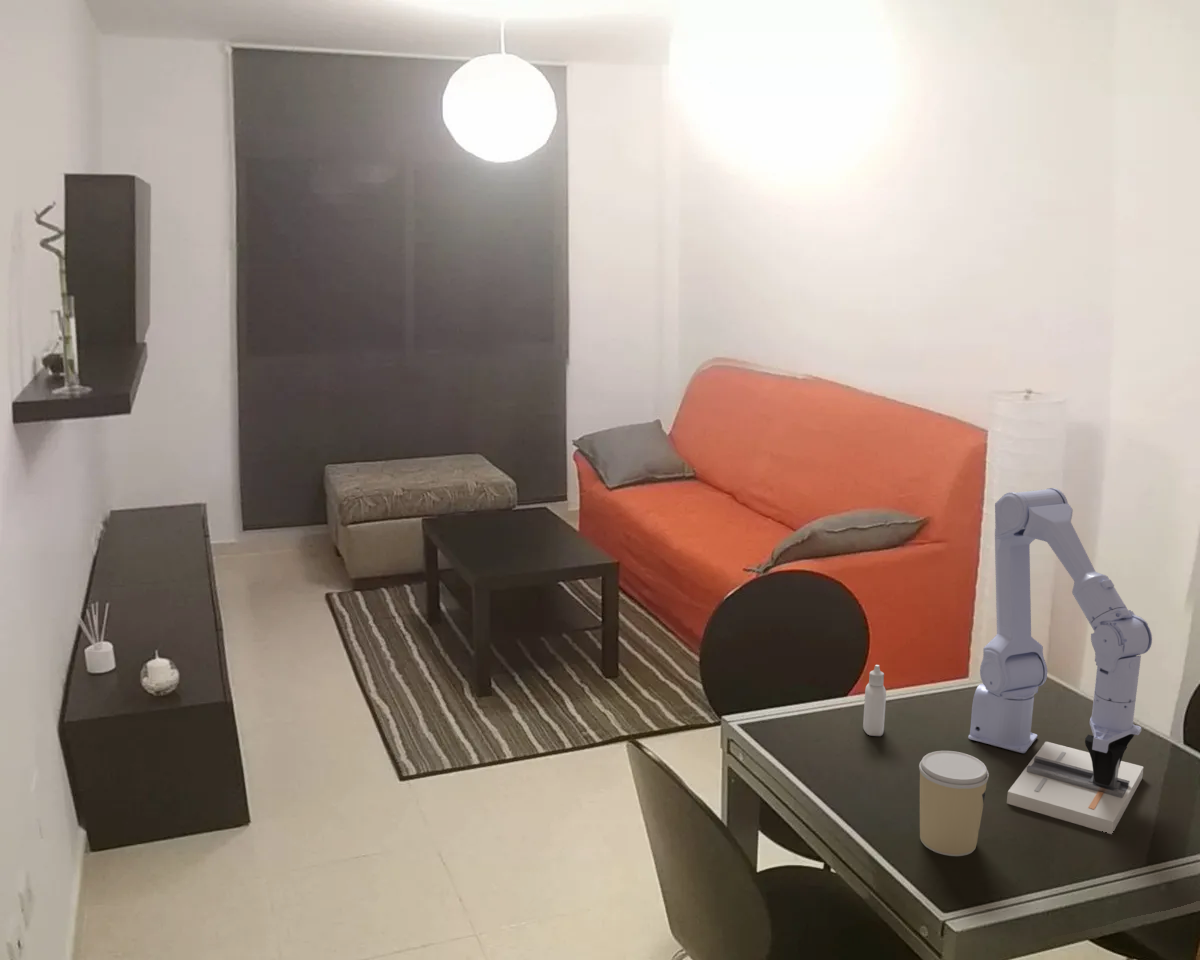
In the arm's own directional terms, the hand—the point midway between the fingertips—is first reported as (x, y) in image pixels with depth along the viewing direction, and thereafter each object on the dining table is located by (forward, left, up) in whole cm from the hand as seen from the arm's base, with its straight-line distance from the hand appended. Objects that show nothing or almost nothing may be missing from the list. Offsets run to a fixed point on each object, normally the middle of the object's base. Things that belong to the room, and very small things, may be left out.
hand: (1105, 777), depth 172 cm
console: (-4, 0, -3) cm, 5 cm away
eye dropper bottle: (-38, +2, -4) cm, 38 cm away
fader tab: (0, 0, -1) cm, 1 cm away
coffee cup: (-15, -26, -4) cm, 31 cm away
